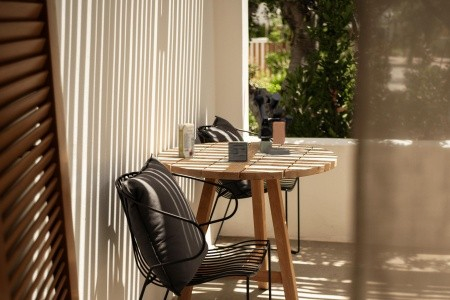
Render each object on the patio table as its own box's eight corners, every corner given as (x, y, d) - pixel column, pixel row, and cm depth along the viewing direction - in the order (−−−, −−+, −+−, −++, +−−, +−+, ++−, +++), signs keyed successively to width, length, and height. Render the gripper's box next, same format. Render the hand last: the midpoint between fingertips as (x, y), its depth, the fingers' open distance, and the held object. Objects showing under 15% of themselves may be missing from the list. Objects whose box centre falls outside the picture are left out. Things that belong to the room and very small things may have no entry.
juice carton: (196, 156, 451) (196, 123, 449) (185, 158, 445) (185, 124, 443) (187, 155, 457) (186, 122, 454) (176, 156, 450) (176, 124, 448)
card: (290, 150, 479) (290, 149, 479) (303, 149, 481) (303, 149, 481) (295, 151, 472) (295, 151, 472) (307, 151, 474) (307, 150, 474)
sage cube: (259, 151, 475) (259, 141, 474) (268, 151, 477) (268, 141, 476) (262, 152, 469) (262, 142, 469) (271, 152, 471) (271, 142, 470)
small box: (247, 160, 437) (248, 141, 436) (247, 162, 431) (247, 143, 429) (229, 160, 438) (229, 141, 437) (227, 161, 432) (228, 142, 430)
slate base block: (265, 153, 467) (265, 148, 467) (283, 153, 470) (283, 148, 470) (272, 156, 457) (272, 151, 456) (289, 155, 460) (289, 150, 459)
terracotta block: (274, 141, 466) (275, 121, 465) (284, 142, 465) (285, 121, 463) (272, 142, 461) (273, 122, 459) (282, 143, 459) (283, 123, 457)
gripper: (262, 102, 461) (267, 123, 452) (292, 102, 466) (298, 122, 456) (258, 114, 469) (263, 135, 460) (287, 114, 474) (293, 134, 465)
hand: (279, 131), depth 460 cm, fingers closed on terracotta block, 8 cm apart
